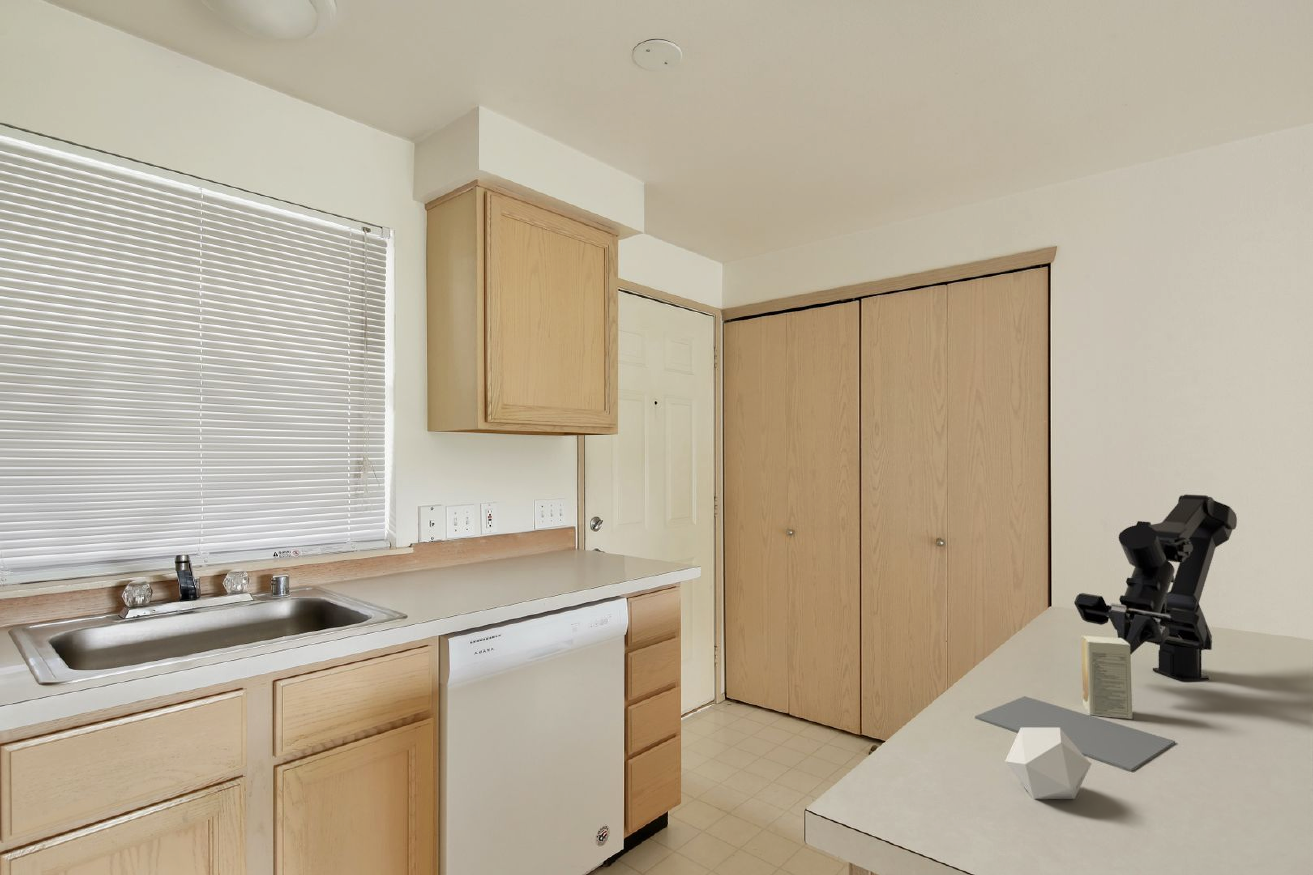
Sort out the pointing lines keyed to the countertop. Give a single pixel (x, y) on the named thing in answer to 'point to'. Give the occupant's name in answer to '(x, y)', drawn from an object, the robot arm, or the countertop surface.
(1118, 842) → the countertop surface
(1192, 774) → the countertop surface
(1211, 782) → the countertop surface
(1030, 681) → the countertop surface
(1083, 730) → the mat
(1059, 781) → the die
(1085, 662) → the skincare box
